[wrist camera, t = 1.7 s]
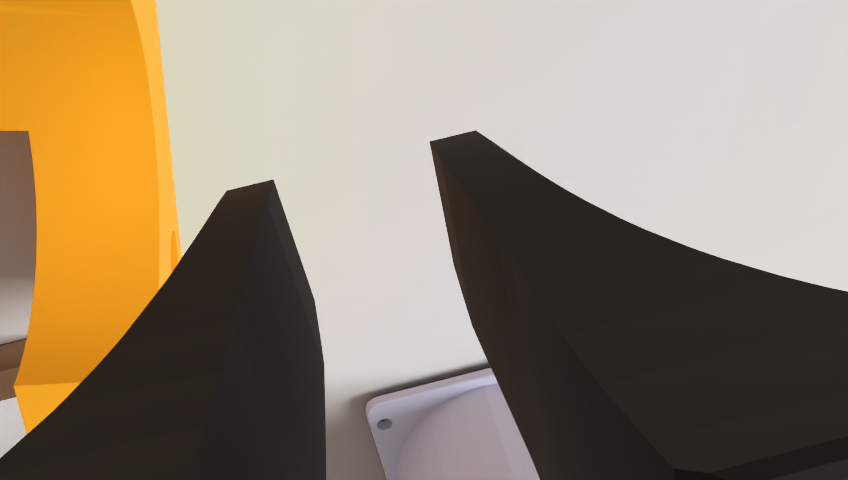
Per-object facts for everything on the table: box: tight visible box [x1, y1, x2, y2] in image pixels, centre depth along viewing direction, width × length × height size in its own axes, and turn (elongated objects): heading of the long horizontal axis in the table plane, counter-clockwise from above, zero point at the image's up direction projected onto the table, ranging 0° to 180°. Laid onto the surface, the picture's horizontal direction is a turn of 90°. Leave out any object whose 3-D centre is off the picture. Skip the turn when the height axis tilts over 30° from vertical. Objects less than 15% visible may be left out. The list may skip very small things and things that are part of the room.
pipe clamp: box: [0, 0, 182, 434], centre depth 16 cm, size 12×4×6 cm, turn 175°
